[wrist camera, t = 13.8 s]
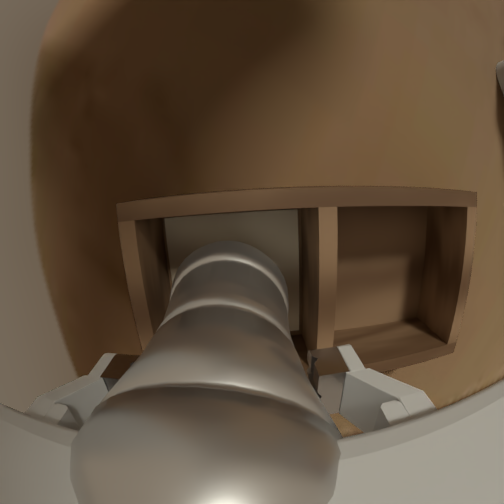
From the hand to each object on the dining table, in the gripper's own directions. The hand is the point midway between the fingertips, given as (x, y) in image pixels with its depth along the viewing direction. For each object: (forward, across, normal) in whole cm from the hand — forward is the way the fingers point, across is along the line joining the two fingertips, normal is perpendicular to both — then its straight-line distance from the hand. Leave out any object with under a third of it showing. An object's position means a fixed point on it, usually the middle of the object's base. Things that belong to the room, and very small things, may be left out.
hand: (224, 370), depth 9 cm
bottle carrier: (+12, -5, 0) cm, 13 cm away
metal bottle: (+10, 0, 0) cm, 10 cm away
